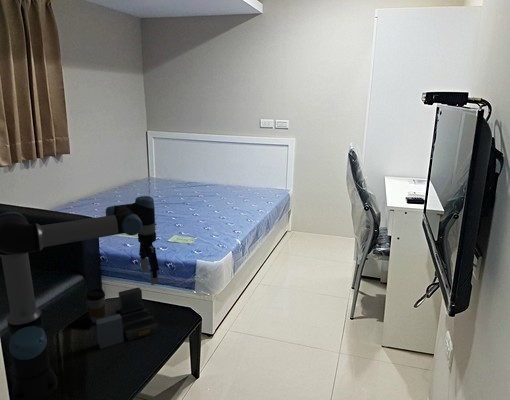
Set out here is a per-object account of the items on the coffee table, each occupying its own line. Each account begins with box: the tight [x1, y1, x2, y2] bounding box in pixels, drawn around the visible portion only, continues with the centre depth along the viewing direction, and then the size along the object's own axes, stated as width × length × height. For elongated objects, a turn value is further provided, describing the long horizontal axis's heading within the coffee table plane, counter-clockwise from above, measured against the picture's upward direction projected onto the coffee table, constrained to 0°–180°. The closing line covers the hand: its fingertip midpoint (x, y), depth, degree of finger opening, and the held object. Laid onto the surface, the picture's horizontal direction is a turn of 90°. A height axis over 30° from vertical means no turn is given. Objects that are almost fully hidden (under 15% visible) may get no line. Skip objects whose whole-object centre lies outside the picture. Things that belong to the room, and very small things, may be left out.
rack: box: [114, 286, 160, 342], centre depth 197 cm, size 14×25×14 cm, turn 31°
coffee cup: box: [86, 288, 106, 324], centre depth 199 cm, size 8×8×15 cm
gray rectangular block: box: [95, 314, 125, 350], centre depth 182 cm, size 10×4×12 cm, turn 121°
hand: (149, 278), depth 183 cm, fingers open, 13 cm apart
